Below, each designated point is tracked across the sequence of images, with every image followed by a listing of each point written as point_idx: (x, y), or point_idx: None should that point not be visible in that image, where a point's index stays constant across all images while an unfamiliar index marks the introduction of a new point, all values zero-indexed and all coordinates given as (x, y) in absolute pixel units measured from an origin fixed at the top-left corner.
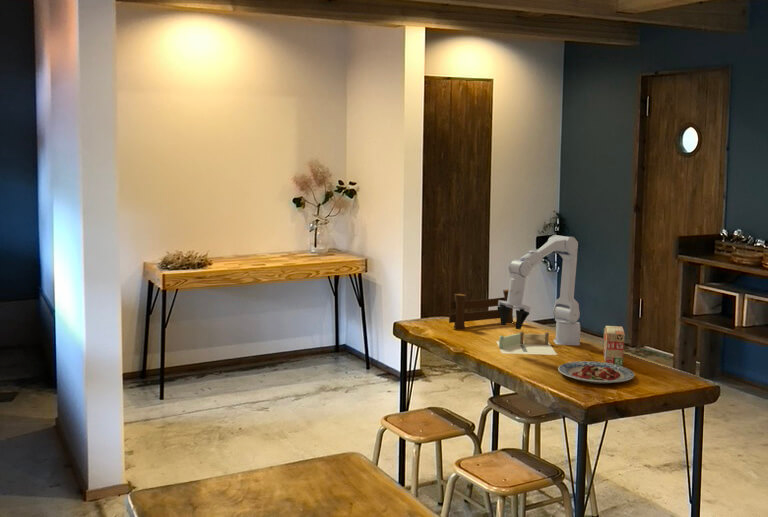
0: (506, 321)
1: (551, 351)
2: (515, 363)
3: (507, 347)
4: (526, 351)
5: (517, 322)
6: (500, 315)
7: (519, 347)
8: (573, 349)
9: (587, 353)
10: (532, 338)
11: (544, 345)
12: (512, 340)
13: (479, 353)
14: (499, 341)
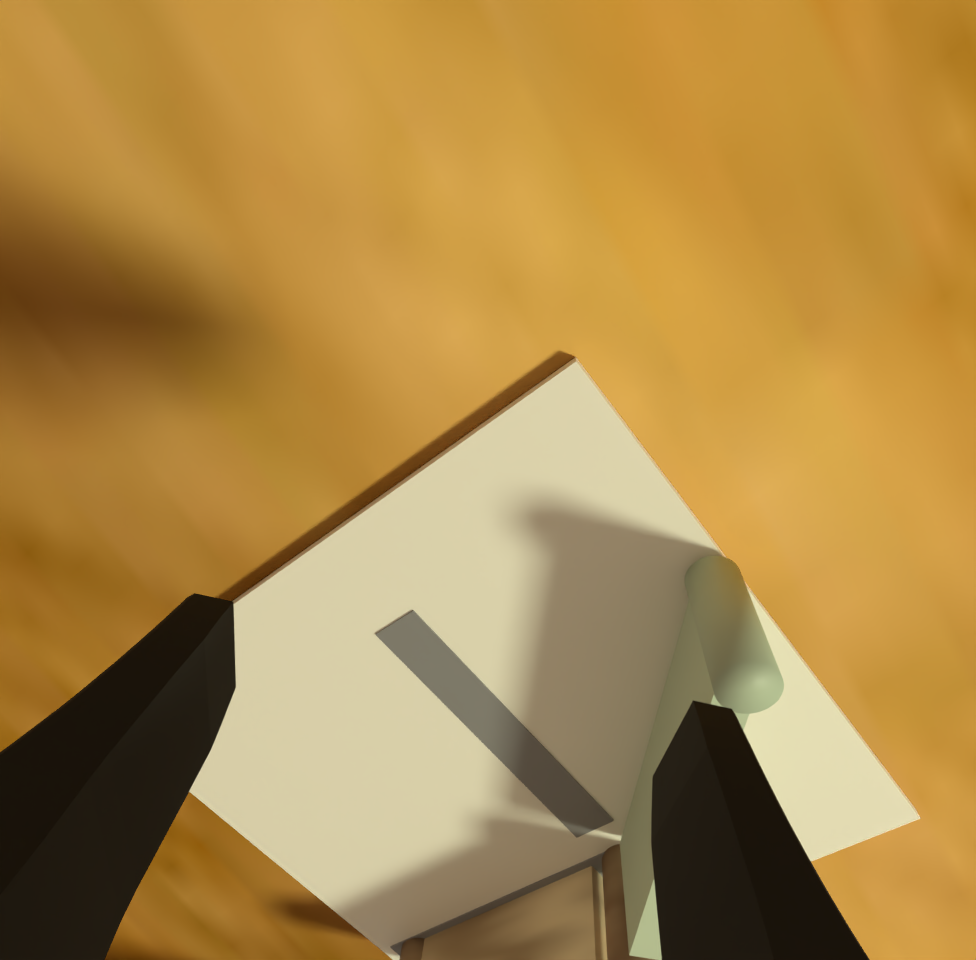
0: (656, 880)
1: (215, 778)
2: (130, 24)
3: (668, 660)
4: (388, 632)
5: (78, 708)
6: (836, 957)
7: (555, 733)
8: (171, 940)
9: None
10: (520, 955)
11: (407, 912)
12: None
13: (890, 173)
14: (753, 614)
